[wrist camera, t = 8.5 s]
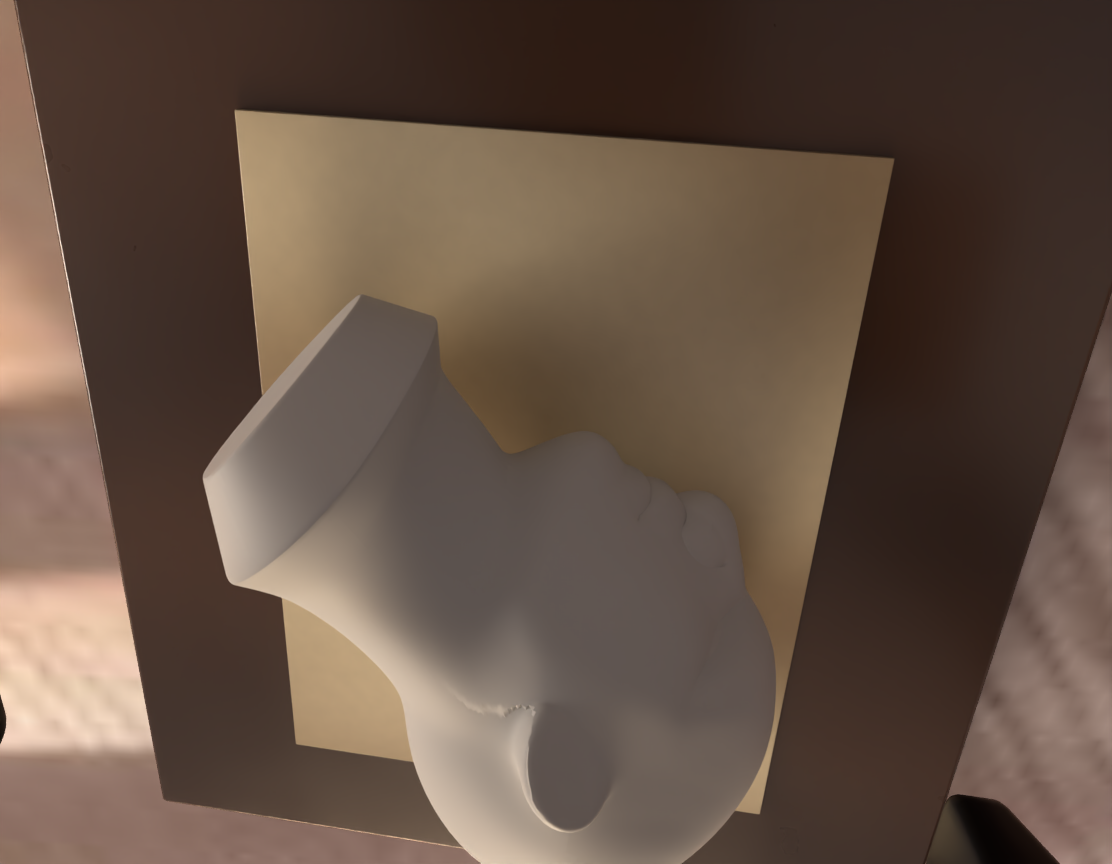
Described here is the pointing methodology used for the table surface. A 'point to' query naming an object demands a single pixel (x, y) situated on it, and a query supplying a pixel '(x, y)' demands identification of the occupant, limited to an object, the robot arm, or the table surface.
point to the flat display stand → (599, 334)
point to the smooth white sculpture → (506, 600)
